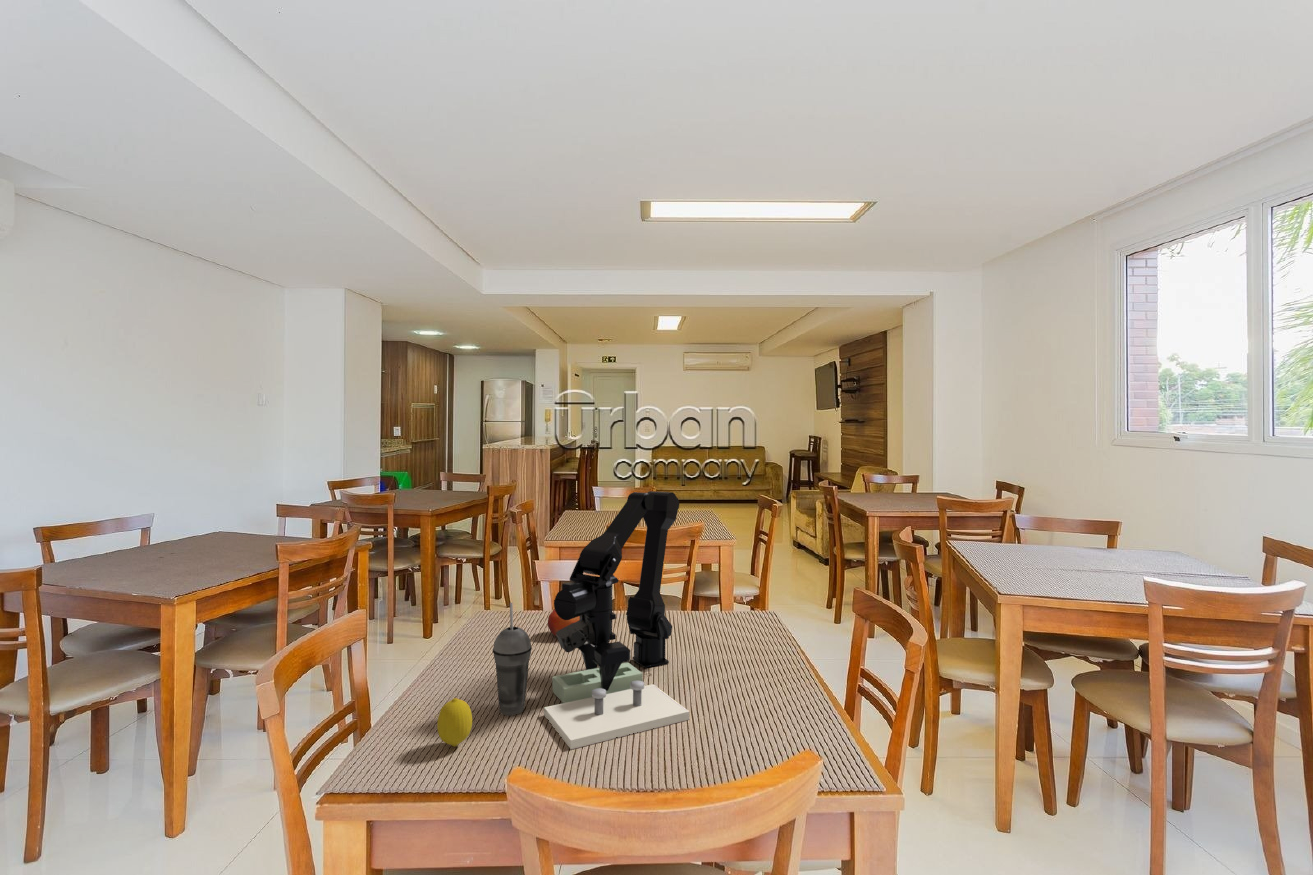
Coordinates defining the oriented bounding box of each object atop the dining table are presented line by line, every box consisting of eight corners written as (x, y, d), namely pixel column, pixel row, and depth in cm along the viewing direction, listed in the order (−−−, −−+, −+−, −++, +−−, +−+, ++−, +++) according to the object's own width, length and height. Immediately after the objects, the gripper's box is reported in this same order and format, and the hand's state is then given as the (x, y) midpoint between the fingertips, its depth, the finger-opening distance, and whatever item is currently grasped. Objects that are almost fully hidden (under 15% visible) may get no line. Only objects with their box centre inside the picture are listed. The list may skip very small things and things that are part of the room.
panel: (627, 676, 130) (627, 662, 130) (642, 687, 124) (642, 673, 124) (552, 691, 122) (552, 676, 122) (564, 704, 116) (564, 689, 116)
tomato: (580, 641, 153) (580, 610, 153) (544, 641, 153) (544, 610, 153) (585, 630, 162) (585, 600, 162) (551, 630, 162) (551, 600, 162)
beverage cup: (496, 722, 109) (497, 611, 109) (488, 706, 115) (489, 601, 115) (536, 714, 112) (536, 606, 112) (525, 699, 119) (526, 597, 119)
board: (653, 691, 123) (653, 664, 123) (689, 719, 110) (689, 689, 110) (544, 715, 112) (544, 685, 112) (570, 749, 99) (571, 716, 99)
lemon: (442, 738, 103) (442, 691, 103) (475, 737, 103) (475, 691, 103) (432, 755, 97) (433, 706, 97) (467, 754, 98) (468, 705, 98)
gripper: (546, 602, 128) (545, 675, 128) (577, 626, 111) (577, 710, 111) (594, 596, 133) (594, 666, 133) (631, 618, 117) (631, 698, 117)
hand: (597, 684), depth 123 cm, fingers closed on panel, 7 cm apart
